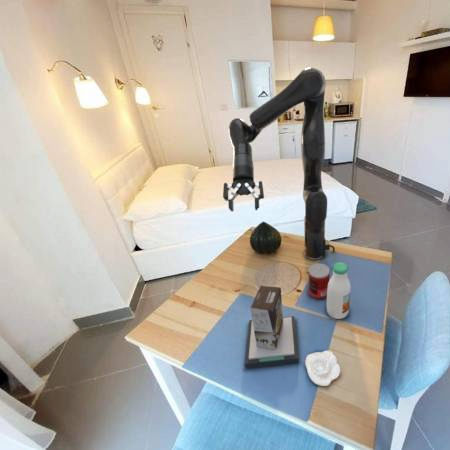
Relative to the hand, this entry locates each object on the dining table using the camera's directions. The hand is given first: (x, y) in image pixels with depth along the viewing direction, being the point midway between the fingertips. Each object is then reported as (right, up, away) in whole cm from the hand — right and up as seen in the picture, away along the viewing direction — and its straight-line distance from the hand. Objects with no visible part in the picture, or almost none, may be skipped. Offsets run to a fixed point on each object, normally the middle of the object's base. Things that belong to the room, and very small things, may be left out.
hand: (244, 210), depth 88 cm
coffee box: (+11, -39, -12) cm, 43 cm away
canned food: (+27, -31, +8) cm, 42 cm away
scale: (+11, -42, -10) cm, 45 cm away
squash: (+3, -18, +35) cm, 39 cm away
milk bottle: (+33, -36, 0) cm, 49 cm away
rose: (+26, -46, -18) cm, 56 cm away
